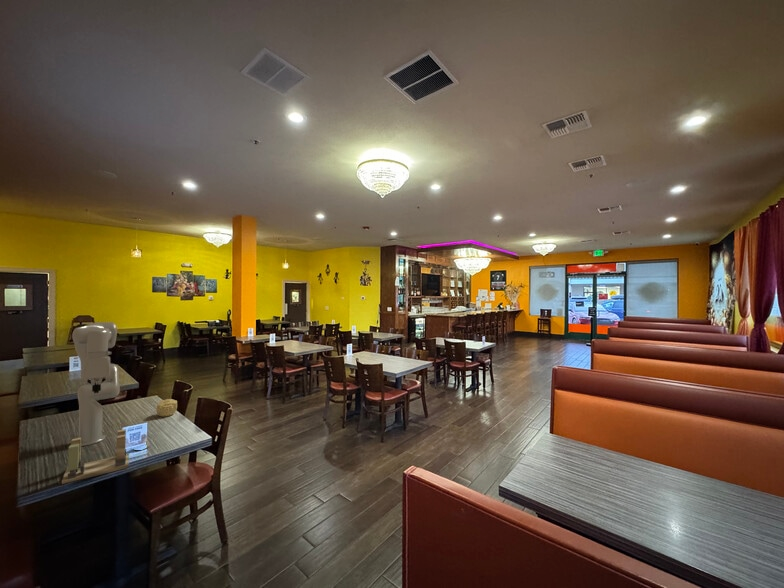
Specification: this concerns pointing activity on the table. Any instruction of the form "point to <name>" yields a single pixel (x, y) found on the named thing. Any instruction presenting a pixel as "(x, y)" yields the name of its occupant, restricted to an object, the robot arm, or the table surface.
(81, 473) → the stool seat
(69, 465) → the hinged leg
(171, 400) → the beige rounded lump
